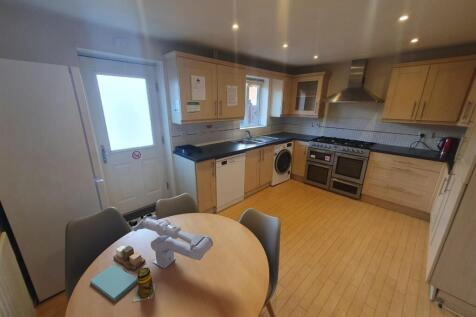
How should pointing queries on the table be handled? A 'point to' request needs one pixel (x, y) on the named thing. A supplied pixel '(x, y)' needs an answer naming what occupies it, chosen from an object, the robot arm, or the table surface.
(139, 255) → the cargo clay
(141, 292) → the condiment
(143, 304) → the table surface
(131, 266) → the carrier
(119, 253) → the block
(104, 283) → the dock
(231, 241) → the table surface
